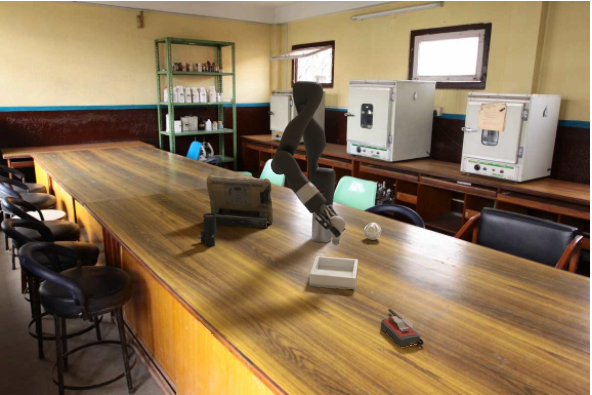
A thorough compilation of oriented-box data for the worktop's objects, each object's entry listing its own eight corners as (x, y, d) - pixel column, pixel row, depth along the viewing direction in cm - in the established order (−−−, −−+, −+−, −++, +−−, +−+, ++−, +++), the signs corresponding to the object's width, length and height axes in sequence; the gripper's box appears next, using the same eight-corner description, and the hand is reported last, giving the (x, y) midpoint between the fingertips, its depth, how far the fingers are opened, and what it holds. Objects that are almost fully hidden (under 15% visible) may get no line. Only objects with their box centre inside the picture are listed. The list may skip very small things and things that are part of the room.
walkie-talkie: (430, 346, 124) (391, 312, 143) (431, 332, 123) (392, 299, 142) (402, 352, 122) (367, 316, 140) (403, 337, 121) (367, 303, 139)
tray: (316, 266, 177) (316, 255, 176) (357, 270, 174) (358, 259, 173) (309, 285, 160) (309, 274, 159) (354, 290, 157) (355, 278, 156)
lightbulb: (330, 248, 160) (331, 218, 157) (324, 242, 166) (326, 213, 163) (346, 247, 162) (348, 218, 159) (340, 241, 167) (342, 213, 165)
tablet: (274, 221, 235) (274, 174, 229) (270, 229, 221) (271, 179, 215) (212, 218, 237) (211, 171, 231) (205, 226, 224) (203, 176, 218)
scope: (214, 210, 201) (222, 215, 193) (214, 239, 205) (222, 246, 196) (196, 212, 197) (203, 218, 189) (196, 242, 201) (204, 249, 192)
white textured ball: (361, 240, 209) (362, 224, 207) (366, 235, 216) (367, 220, 214) (378, 243, 206) (379, 226, 204) (382, 238, 212) (384, 222, 210)
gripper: (311, 195, 155) (343, 233, 154) (323, 187, 168) (353, 222, 167) (296, 208, 158) (328, 245, 157) (309, 199, 171) (338, 233, 170)
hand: (341, 233), depth 162 cm, fingers closed on lightbulb, 5 cm apart
